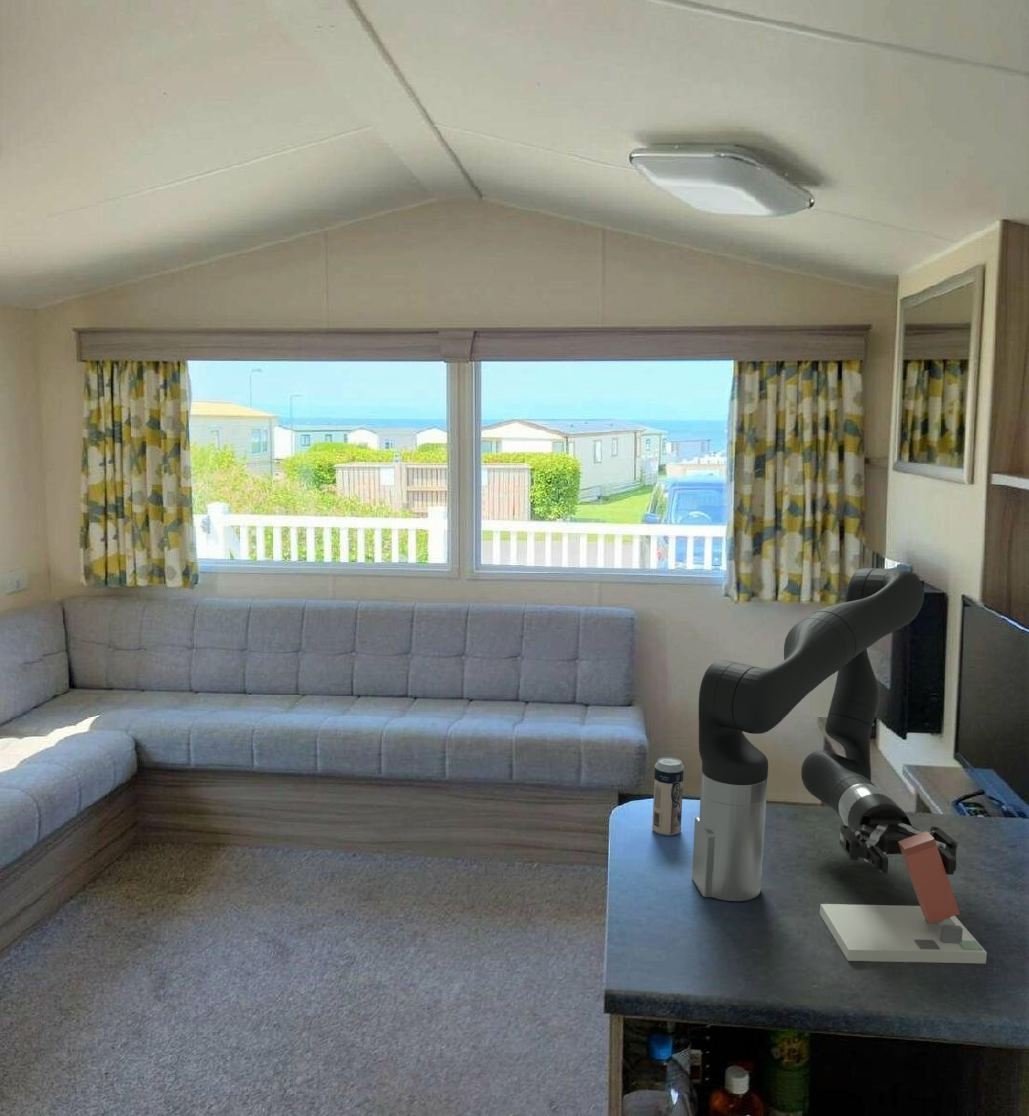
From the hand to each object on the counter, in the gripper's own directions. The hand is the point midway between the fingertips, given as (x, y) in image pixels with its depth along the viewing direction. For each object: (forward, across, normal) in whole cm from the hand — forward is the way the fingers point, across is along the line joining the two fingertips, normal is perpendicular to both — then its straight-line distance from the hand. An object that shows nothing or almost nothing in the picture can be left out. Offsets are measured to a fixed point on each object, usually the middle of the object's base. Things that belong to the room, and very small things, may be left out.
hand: (918, 867), depth 131 cm
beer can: (-36, -26, +11) cm, 46 cm away
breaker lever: (-2, +5, +8) cm, 10 cm away
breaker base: (-3, 0, +11) cm, 12 cm away
